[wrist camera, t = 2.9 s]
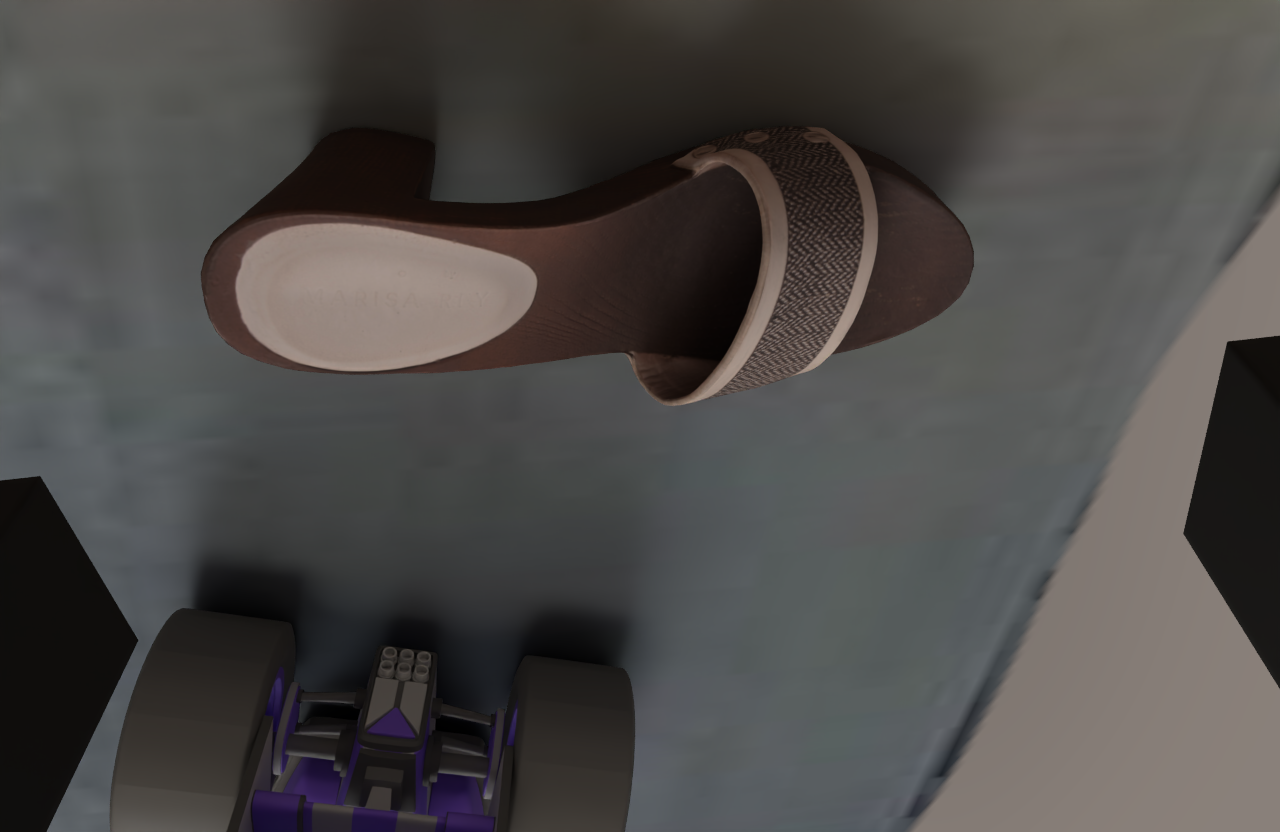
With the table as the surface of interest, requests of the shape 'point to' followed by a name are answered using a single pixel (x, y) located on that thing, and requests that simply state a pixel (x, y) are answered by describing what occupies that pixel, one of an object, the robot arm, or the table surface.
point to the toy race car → (361, 743)
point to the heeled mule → (590, 264)
